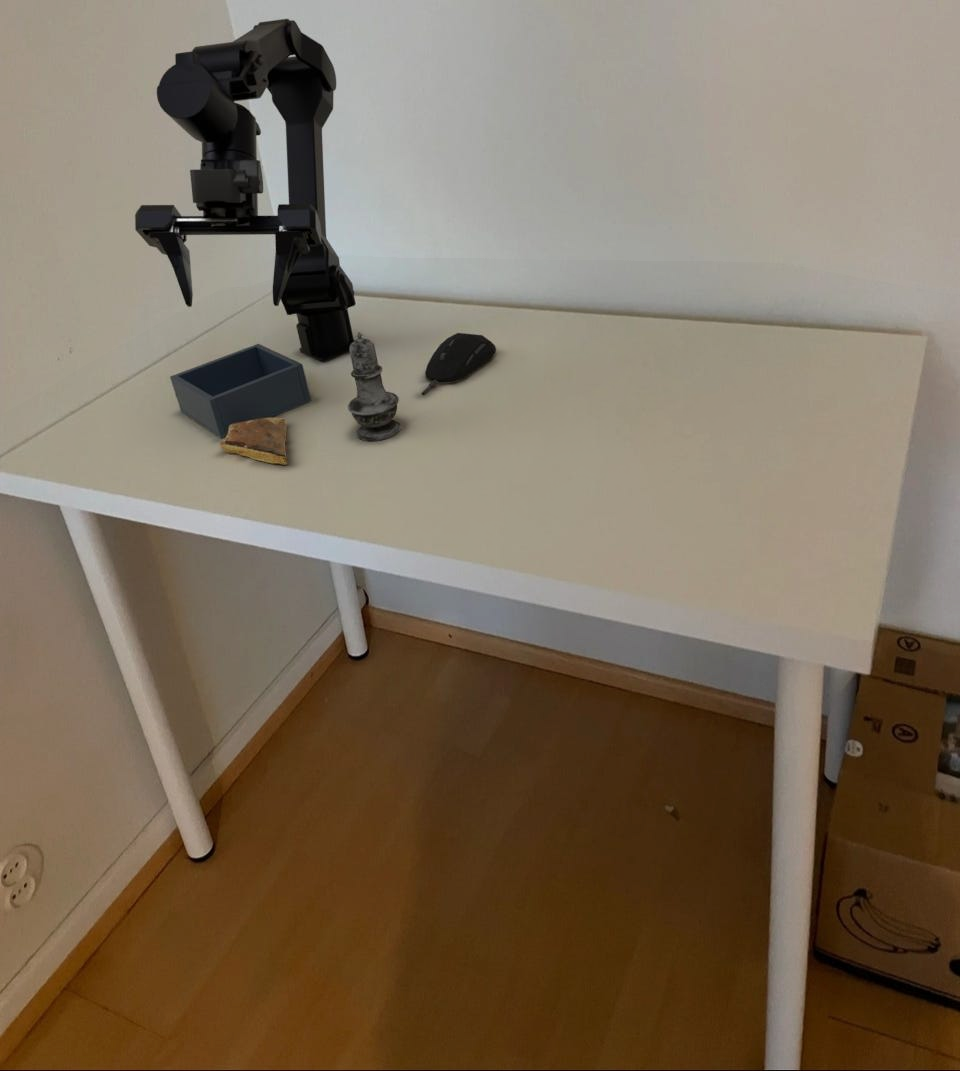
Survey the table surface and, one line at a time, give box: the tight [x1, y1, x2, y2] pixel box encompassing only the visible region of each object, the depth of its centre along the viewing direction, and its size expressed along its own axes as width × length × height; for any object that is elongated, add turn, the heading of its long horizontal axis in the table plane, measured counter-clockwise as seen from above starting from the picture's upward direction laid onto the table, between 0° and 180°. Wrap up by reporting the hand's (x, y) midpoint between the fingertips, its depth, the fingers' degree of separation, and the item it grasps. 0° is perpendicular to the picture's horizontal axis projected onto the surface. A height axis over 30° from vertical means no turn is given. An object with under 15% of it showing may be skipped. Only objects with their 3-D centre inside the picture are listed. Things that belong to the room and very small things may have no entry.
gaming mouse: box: [421, 332, 497, 396], centre depth 121 cm, size 6×15×4 cm, turn 149°
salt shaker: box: [347, 331, 402, 442], centre depth 107 cm, size 6×6×12 cm
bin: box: [169, 343, 312, 439], centre depth 120 cm, size 13×12×5 cm
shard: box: [219, 417, 288, 466], centre depth 109 cm, size 11×8×2 cm
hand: (232, 305), depth 102 cm, fingers open, 9 cm apart
